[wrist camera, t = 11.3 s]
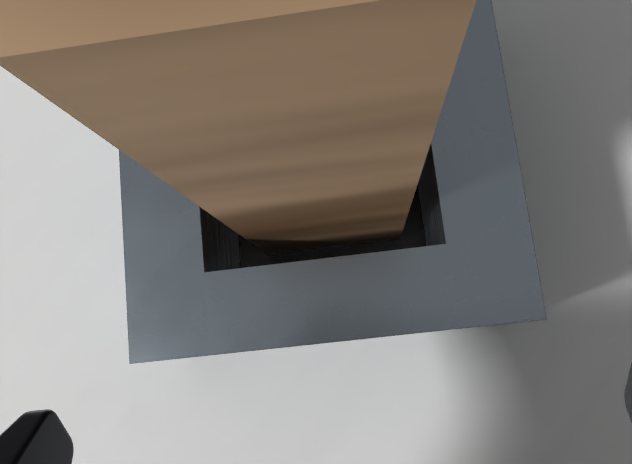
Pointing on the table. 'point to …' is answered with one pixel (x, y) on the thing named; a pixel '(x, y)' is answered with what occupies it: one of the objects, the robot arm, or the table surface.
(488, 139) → the square collar
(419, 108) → the walnut peg
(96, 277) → the table surface
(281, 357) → the table surface
